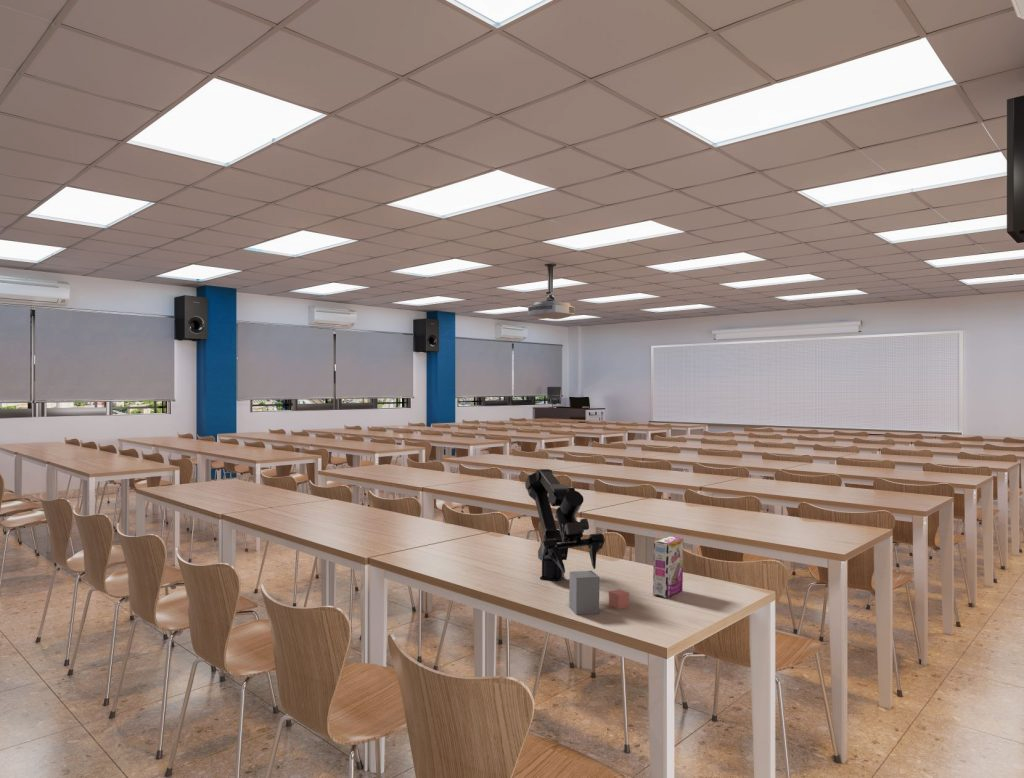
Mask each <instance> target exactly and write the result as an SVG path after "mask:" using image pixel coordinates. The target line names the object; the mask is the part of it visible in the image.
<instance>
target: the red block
mask: <svg viewBox="0 0 1024 778" xmlns="http://www.w3.org/2000/svg"><path fill="white" fill-rule="evenodd" d="M608 606H610V607H612V608H615V609H617V610H620V609H624V608H629V607H630V592H628V591H626V590H623V589H621V588H620V589H615V590H614V589H613V590H609V591H608Z"/></svg>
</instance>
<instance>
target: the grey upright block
mask: <svg viewBox="0 0 1024 778" xmlns="http://www.w3.org/2000/svg"><path fill="white" fill-rule="evenodd" d="M568 583H569V585H568V586H569V587H568V588H569V589H568V591H569V592H568V593H569V596H568V598H569V599H568V601H569V603H568V605H569V606H568V607H569V609H570V610H571V611H572V612H573V613H574V614H575V615H577V616H579V615H594V614H600V576H599V574H597V573H596V572H594V571H593V570H580V571H579V570H577V571H572V570H571V571H569V581H568Z"/></svg>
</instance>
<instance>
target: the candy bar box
mask: <svg viewBox="0 0 1024 778" xmlns="http://www.w3.org/2000/svg"><path fill="white" fill-rule="evenodd" d="M683 566H684V538H682V537H676V536H668V537H665V538H661V539H658V540H654V541H653V577H652V578H653V583H652V596H655V597H660V598H664V599H667V598H670V597H671V596H674V595H676V594H678V593H680V592H682V591H683V585H684V584H683V581H684V580H683V577H684V576H683V572H684V567H683Z"/></svg>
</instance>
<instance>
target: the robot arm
mask: <svg viewBox="0 0 1024 778" xmlns="http://www.w3.org/2000/svg"><path fill="white" fill-rule="evenodd" d="M552 471H553V470H552V469H549V468H539V469H536V471H535V472H534V473H531V474H530V475H529V474H528V476H527V477H526V480H525V481H524V482H525V483H524V484H525V485H524V486H525V489H526V490H527V493H528V494H527V495H528V496H529V497H530V498H532V500H534V502H535V506H536V509H537V515H538V518H539V521H540V525H541V528H542V533H543V537H542V539H541V541H540V546H539V548H538V551H537V557H538V560H540V561H541V576H539V579H540V580H546V581H547V580H548V581H555V582H560V581H561V580H562V579H563V578H564V577H565V573H566V568H565V563H564V561H567V559H568V555H569V554H568V553H569V549H570V548H571V549H572V548H578V547H586V546H588V549H589V551H588V554H589V556H590V557H589V558H590V561H591V566H592V569H593V570H595V569H596V565H597V553H598V552H599V551H600V550H601V549H602V548H603V546H604V544H605V542H606V539H605V536H604V534H603V533H602V532H596V533H595V532H594V533H590V534H589V537H588V538H583V536H584V532H585V531H588V530H589V529H590V525H589V524H590V523H589V520H588V518H582V519H580V521H578V520H577V519H576V515H577V514H579V513H578V512H579V510H580V509H581V507H582V505H583V502H584V496H583V495H582V494H581V492H580V491H577V490H575V487H569V486H568V485H564V484H561V483H560V481H559V480H558V478H556V477H555V475H554V473H553V472H552ZM551 506H552V507H557V509H556V510H555V515H554V514H553V510H552V507H551ZM554 517H555V518H554ZM555 519H556V520H557V524H558V528H559V529H558V528H557V524H556V520H555ZM582 538H583V539H582Z"/></svg>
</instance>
